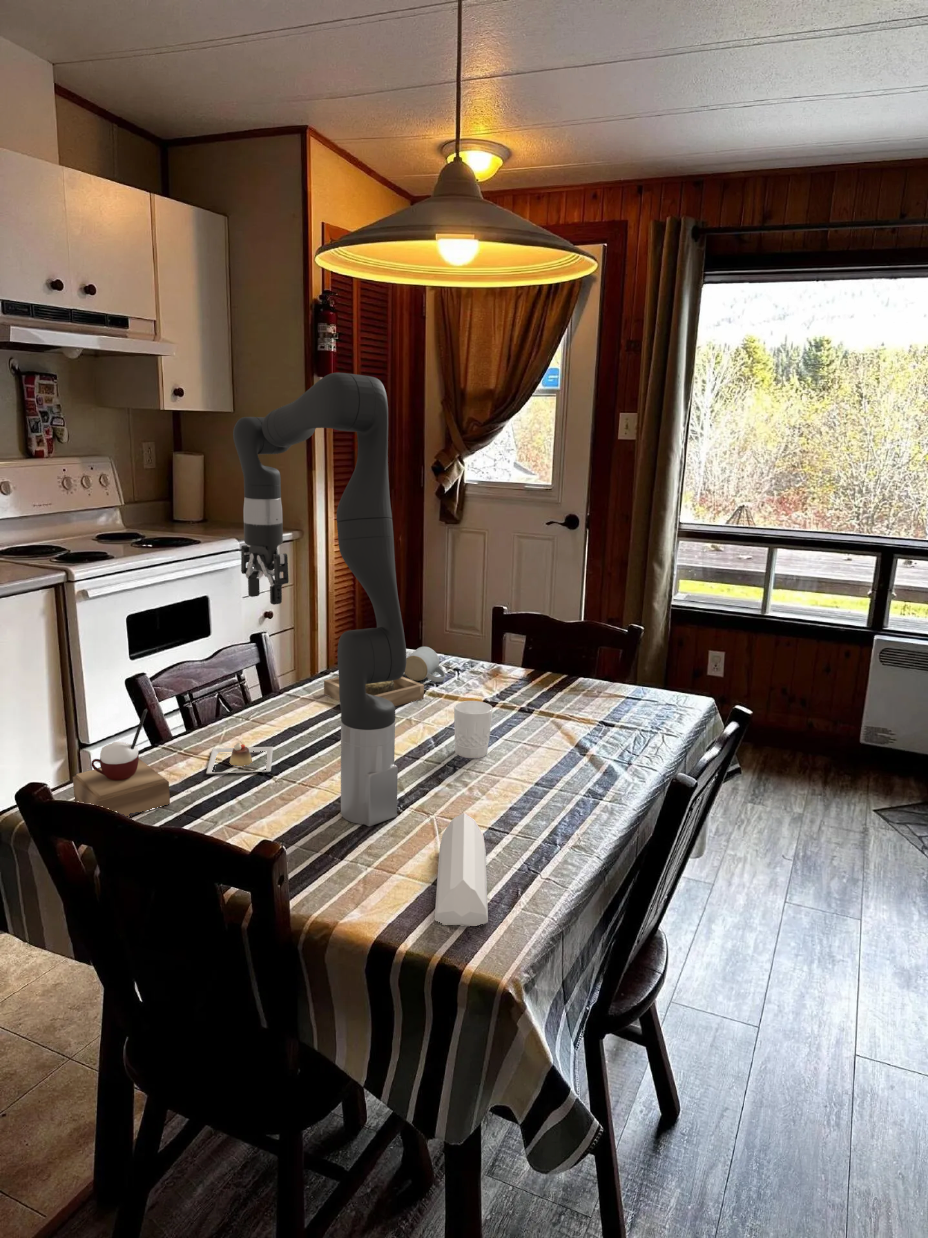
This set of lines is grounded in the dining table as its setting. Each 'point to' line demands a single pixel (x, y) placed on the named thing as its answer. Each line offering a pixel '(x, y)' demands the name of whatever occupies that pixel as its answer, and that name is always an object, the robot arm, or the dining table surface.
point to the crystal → (462, 875)
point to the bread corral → (401, 695)
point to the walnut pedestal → (123, 790)
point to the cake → (379, 687)
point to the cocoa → (120, 758)
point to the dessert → (240, 757)
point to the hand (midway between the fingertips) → (264, 599)
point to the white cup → (472, 728)
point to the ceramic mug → (423, 665)
